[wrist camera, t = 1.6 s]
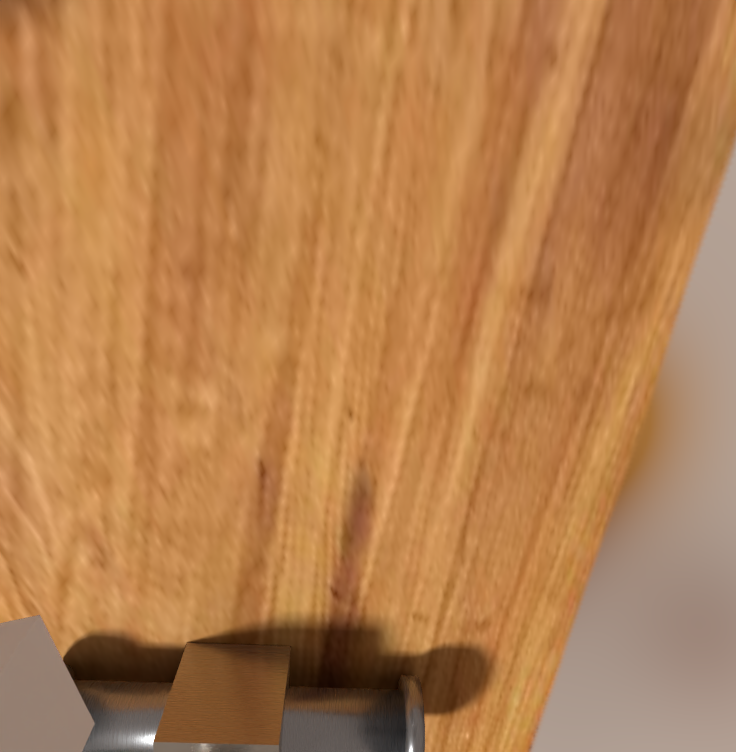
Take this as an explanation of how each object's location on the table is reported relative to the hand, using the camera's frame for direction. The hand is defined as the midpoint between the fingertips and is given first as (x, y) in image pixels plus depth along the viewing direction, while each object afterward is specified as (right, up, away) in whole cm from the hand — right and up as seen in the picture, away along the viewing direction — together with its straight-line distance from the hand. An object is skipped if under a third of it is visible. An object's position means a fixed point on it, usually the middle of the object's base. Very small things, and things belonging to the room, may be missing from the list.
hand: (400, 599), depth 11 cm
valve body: (-11, -21, +36) cm, 43 cm away
